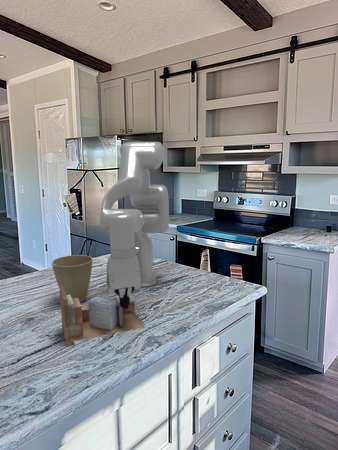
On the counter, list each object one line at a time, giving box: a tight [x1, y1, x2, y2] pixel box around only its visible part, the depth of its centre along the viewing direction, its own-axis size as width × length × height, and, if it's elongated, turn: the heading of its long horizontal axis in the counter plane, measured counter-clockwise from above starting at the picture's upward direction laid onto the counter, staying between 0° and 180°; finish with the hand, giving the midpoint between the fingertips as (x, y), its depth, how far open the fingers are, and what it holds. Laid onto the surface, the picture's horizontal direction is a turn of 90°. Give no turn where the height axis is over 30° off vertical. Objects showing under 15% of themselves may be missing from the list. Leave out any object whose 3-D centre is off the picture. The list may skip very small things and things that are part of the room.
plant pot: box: [51, 254, 94, 303], centre depth 135 cm, size 15×15×16 cm
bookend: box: [112, 297, 123, 328], centre depth 114 cm, size 1×8×7 cm, turn 23°
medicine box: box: [87, 296, 118, 330], centre depth 112 cm, size 8×4×9 cm, turn 68°
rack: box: [58, 286, 146, 347], centre depth 111 cm, size 24×12×14 cm, turn 113°
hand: (124, 307), depth 114 cm, fingers closed
